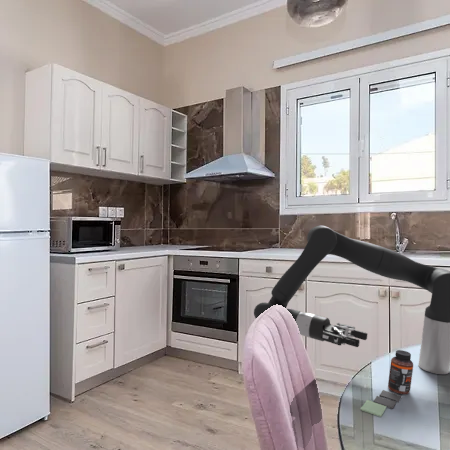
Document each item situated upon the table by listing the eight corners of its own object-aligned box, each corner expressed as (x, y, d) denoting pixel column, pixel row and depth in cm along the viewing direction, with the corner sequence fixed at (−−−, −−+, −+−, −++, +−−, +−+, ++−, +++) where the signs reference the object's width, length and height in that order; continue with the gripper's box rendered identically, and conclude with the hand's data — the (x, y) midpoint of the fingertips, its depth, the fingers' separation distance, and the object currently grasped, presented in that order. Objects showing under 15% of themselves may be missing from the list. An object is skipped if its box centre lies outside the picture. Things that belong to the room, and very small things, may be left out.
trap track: (375, 388, 119) (375, 387, 119) (401, 397, 115) (401, 395, 115) (360, 410, 106) (360, 408, 106) (389, 420, 102) (389, 418, 102)
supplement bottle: (408, 397, 115) (413, 358, 114) (385, 390, 118) (390, 352, 117) (411, 390, 120) (416, 352, 119) (389, 383, 123) (394, 346, 122)
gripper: (305, 319, 127) (358, 333, 118) (321, 310, 139) (370, 323, 130) (302, 342, 128) (354, 358, 119) (319, 332, 139) (367, 346, 131)
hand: (363, 340), depth 124 cm, fingers open, 8 cm apart
